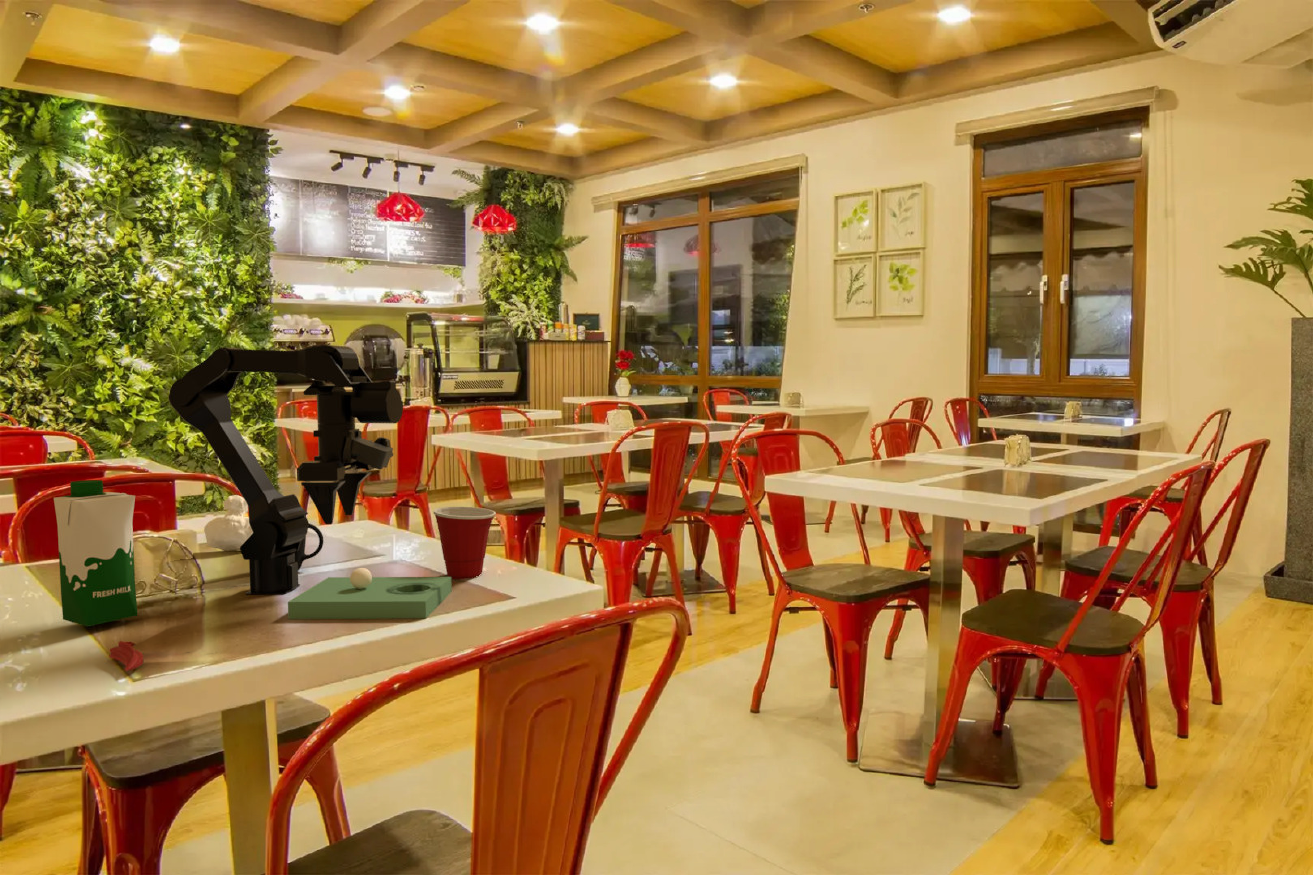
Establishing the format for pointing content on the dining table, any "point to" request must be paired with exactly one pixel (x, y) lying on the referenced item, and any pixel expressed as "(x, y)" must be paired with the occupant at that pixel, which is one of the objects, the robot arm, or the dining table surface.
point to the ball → (361, 578)
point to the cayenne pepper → (127, 655)
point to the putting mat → (371, 598)
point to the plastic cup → (463, 539)
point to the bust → (229, 526)
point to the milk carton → (96, 554)
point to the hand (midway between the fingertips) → (339, 519)
